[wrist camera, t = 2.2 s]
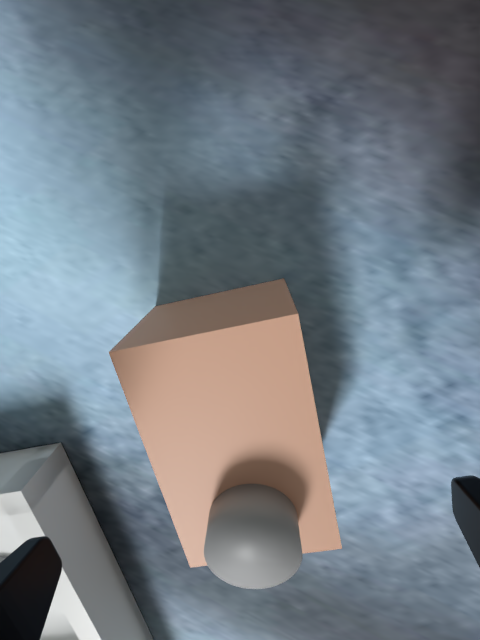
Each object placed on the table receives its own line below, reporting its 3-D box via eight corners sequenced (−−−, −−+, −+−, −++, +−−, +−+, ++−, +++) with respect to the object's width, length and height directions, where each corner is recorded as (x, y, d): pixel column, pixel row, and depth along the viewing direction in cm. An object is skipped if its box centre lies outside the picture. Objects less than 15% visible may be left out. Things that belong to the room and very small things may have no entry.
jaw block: (283, 277, 11) (304, 329, 6) (316, 450, 13) (351, 586, 8) (156, 305, 12) (88, 372, 7) (208, 467, 14) (183, 605, 9)
